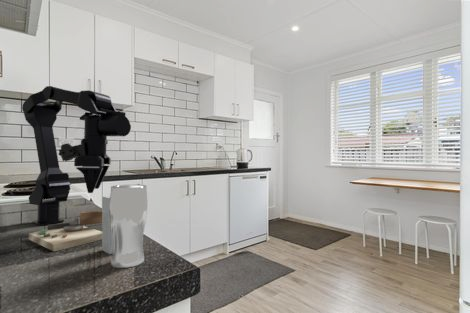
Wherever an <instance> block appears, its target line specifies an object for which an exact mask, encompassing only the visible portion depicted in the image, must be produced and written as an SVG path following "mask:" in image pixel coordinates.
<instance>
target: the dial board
mask: <svg viewBox="0 0 470 313" xmlns="http://www.w3.org/2000/svg"><path fill="white" fill-rule="evenodd" d="M27 240H29V241H31V242H32V243H36V244H37V245H39V246H42V247H44V248H46V249H48V250H50V251H52V252H57V251H61V250H65V249H70V248H74V247H77V246H81V245H85V244H88V243H89V244H90V243H93V242H98V241H102V230H98V229H94V228H91V227H88V226H86V225H83V228H82V229H79V230H73V231H66V230H64V228H62V229H54V230H47V229H41V230H38V231H34V232H29V233H28V239H27Z"/></svg>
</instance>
